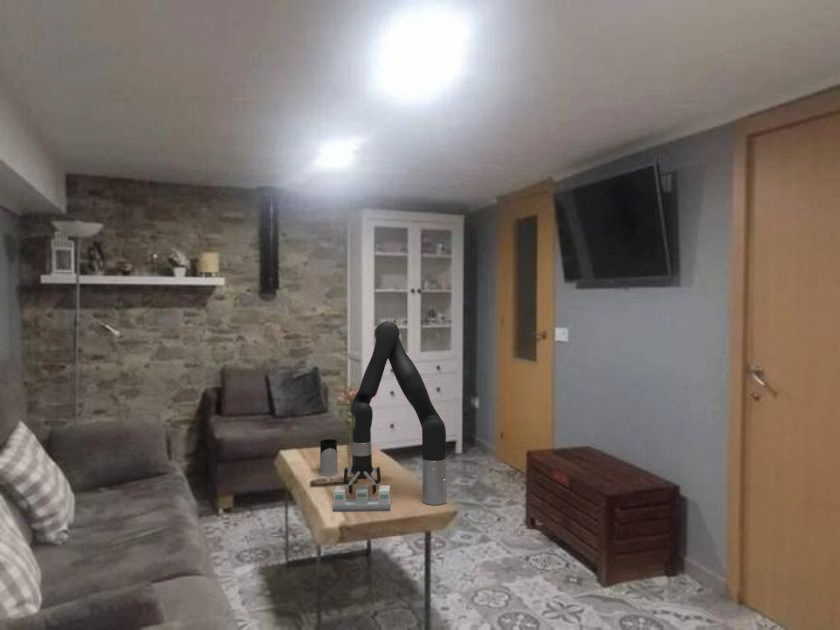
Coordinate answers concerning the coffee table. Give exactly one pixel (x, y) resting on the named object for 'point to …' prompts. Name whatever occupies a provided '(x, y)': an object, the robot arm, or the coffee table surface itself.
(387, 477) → the coffee table surface
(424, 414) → the robot arm
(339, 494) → the board
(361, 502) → the block
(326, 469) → the glass holder
